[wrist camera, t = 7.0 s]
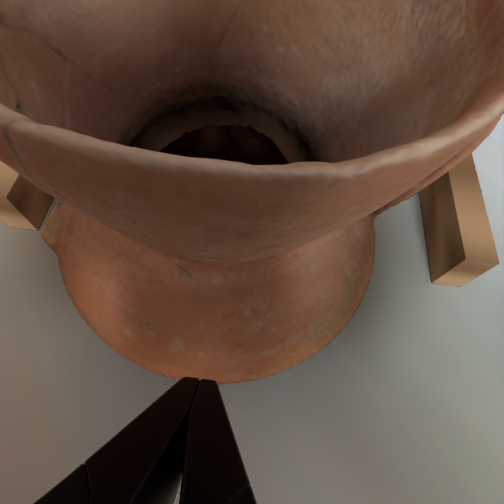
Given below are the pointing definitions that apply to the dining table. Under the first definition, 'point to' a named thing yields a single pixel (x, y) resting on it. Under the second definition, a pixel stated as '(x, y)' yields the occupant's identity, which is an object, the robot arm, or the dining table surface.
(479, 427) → the dining table surface
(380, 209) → the ceramic jug
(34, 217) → the stop board
